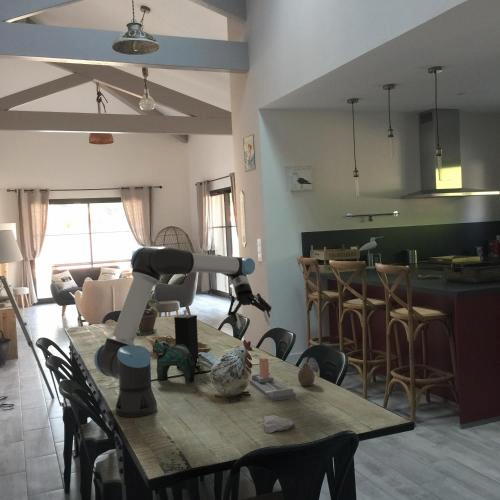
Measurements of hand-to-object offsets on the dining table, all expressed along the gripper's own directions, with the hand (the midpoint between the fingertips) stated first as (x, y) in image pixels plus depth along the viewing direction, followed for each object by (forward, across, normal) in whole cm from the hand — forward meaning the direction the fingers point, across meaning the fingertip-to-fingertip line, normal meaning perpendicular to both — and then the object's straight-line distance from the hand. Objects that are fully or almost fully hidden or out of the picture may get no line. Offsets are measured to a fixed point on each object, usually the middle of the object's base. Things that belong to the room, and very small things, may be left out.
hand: (254, 325), depth 240 cm
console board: (+30, 0, -3) cm, 30 cm away
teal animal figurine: (+8, +34, -26) cm, 43 cm away
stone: (+56, +13, +23) cm, 62 cm away
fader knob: (+23, 0, -7) cm, 24 cm away
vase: (+30, -15, -4) cm, 34 cm away
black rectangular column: (-6, +24, -40) cm, 46 cm away
